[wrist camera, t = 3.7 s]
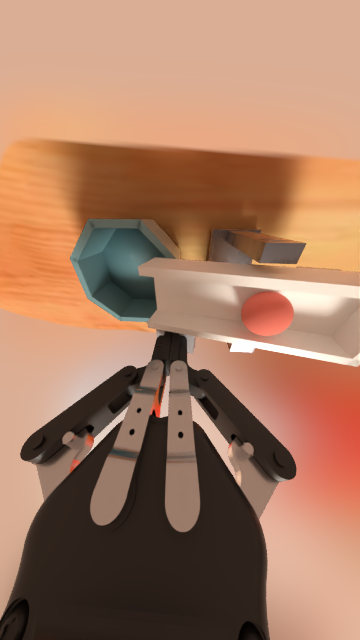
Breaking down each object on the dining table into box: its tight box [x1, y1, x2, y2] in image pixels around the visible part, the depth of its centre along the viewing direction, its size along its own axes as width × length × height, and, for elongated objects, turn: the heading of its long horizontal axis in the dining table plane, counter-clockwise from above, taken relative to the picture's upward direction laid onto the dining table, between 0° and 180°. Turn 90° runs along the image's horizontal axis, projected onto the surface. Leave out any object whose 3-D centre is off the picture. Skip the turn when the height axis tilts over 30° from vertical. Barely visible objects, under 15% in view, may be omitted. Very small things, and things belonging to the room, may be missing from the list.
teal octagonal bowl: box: [70, 219, 181, 322], centre depth 16 cm, size 10×10×6 cm
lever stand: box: [208, 229, 306, 353], centre depth 14 cm, size 5×9×10 cm, turn 179°
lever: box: [138, 257, 360, 367], centre depth 12 cm, size 15×9×6 cm, turn 88°
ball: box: [241, 291, 294, 336], centre depth 9 cm, size 3×3×3 cm
